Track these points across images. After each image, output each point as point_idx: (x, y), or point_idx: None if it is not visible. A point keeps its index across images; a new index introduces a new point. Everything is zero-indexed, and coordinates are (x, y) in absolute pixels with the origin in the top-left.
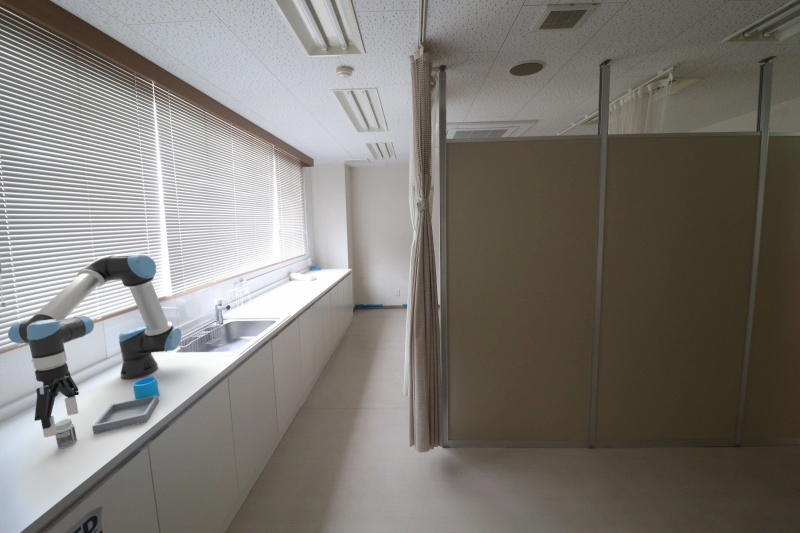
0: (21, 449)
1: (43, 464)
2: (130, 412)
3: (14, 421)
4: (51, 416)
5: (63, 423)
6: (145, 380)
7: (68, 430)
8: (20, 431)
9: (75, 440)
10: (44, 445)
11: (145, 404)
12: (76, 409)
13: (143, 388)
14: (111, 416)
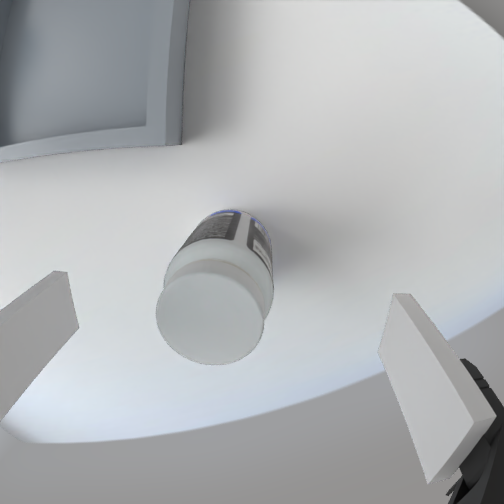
0: (183, 404)
1: (382, 282)
2: (48, 42)
3: (26, 433)
4: (488, 422)
5: (235, 312)
6: None
7: (256, 255)
8: (67, 423)
9: (236, 212)
10: None
11: (14, 16)
12: (45, 289)
13: None
14: (40, 128)
